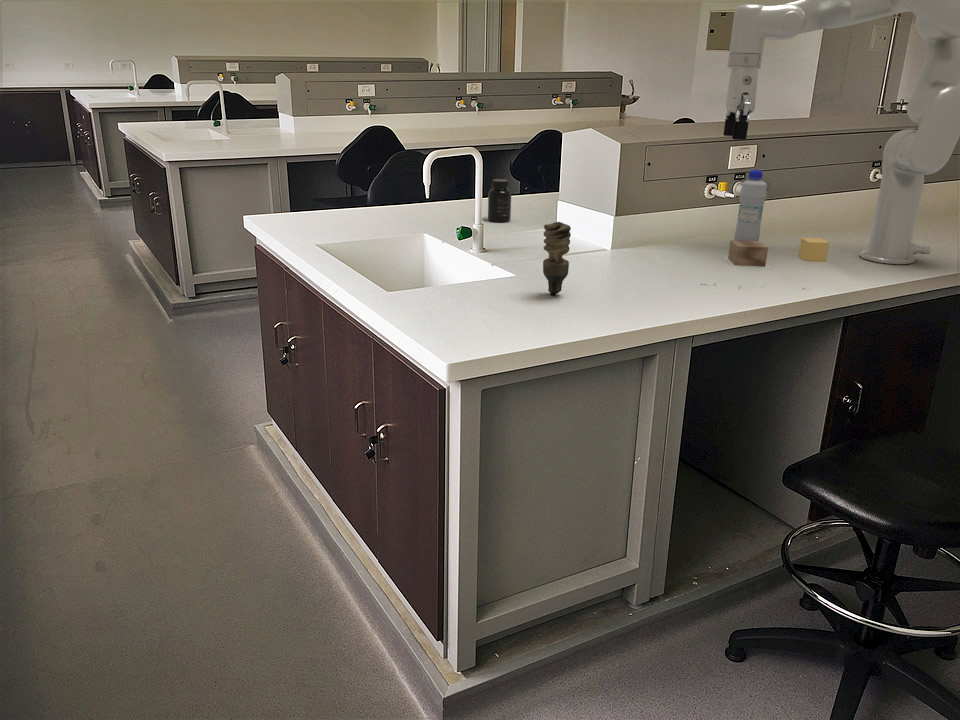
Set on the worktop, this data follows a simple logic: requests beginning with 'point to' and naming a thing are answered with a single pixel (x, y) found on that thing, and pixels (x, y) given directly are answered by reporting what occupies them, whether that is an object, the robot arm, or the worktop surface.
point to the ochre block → (813, 249)
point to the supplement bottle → (499, 202)
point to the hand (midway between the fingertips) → (734, 137)
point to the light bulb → (556, 255)
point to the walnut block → (748, 253)
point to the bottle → (751, 207)
